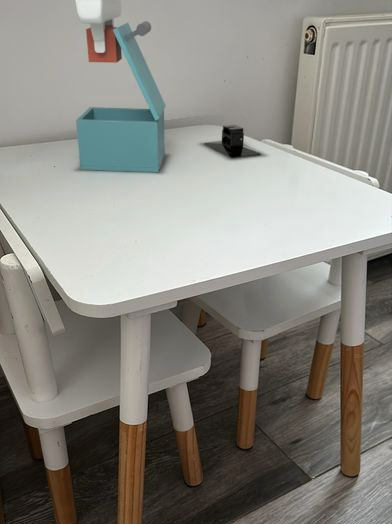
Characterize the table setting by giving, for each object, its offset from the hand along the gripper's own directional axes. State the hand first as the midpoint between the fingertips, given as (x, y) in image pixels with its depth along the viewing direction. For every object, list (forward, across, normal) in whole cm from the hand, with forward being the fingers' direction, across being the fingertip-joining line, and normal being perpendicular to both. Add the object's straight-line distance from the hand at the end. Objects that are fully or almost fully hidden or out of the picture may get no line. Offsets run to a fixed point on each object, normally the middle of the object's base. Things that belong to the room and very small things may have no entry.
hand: (104, 50), depth 98 cm
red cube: (+2, 0, 0) cm, 2 cm away
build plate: (+20, -12, +23) cm, 33 cm away
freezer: (+19, 0, +2) cm, 20 cm away
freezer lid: (+3, 0, +6) cm, 7 cm away
